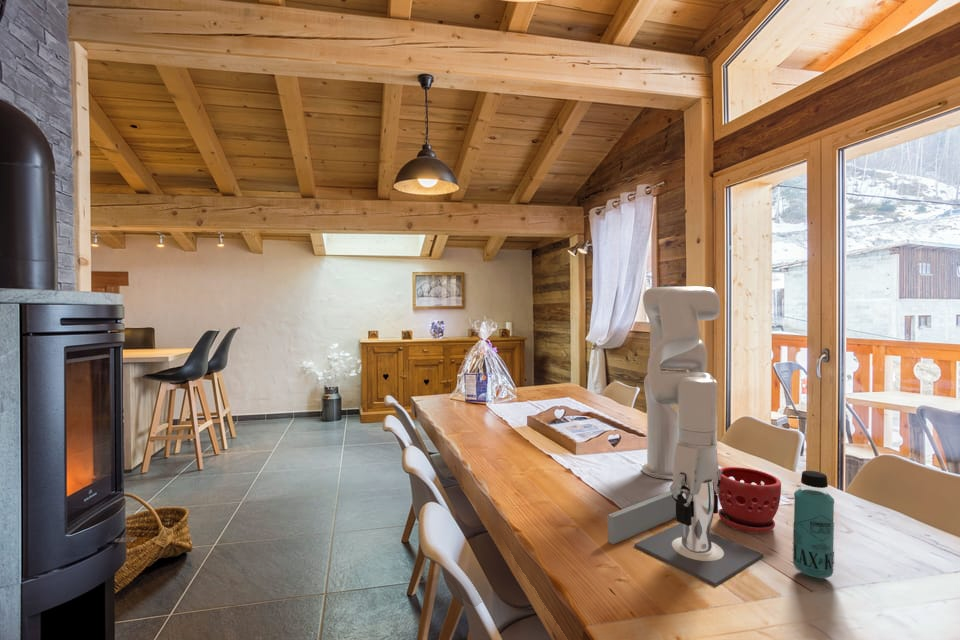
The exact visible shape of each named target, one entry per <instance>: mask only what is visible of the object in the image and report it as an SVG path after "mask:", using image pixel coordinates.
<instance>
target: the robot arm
mask: <svg viewBox="0 0 960 640" xmlns="http://www.w3.org/2000/svg"><path fill="white" fill-rule="evenodd" d="M642 305H643V309H644V311H645V314H646V316H647V318H648V321H649V326H650V328H649V330H650V331H649V357H648V359H647V368H646V370H647V374H646V376H645V377H644V379H643V388H644V396H645V402H646V423H647V424H646V429H647V430H646V433H647V434H646V438H647V439H646V441H647V443H646V446H647V447H646V452H647V453H646V454H647V455H646V457H647V463H644V464H643V465H642V467H641V468H642V469H641V470H642V472H643V473H644V474H645V475H647V476H650V477H653V478H657V479H661V480H672V483H671V484H670V486H669V490H670V491H671V493H672V498H673V499H674V502H675V503H676V517H675V520H676V522H677V523H682V524H685V525H687V526H690V525H691V524H692V506H689V505H690V502H691V500H692V497H693V495H697V494H699V491H700V488H701V483H707V482H711V481H712V479H713V480H714V493H715V507H714V514H715V515H716V514H719V498H718V494H719V489H718V488H719V485H720V484H721V481H720V479H721V475H722V470H720V469H721V468H719V457H718V455H719V454H718V392H719V390H718V383H717V380H715V378H714V376H712V374H710V373H707V369H708V368H707V367H708V366H707V364H708V351H707V347H706V344H705V343H704V341H703V340H701V331H700V327H699V326H700V325H699V323H698V321H714V320H716V319H717V318H718V317H719V315H720V313H721V299H720V296H719V294H718V293H717V290H715V289H714V288H712V287H710V286H709V287H708V286H704V285H703V286H700V285H699V286H698V285H697V286H696V285H693V286H692V285H691V286H657V287H650V288H648V289H646V290H645V291H644V292H643V295H642ZM662 370H663V371H662ZM669 370H671V371H669ZM672 370H673V371H672ZM674 370H675V371H674ZM677 370H680V371H677ZM681 370H683V371H681ZM684 370H685V371H684ZM672 405H673V406H677V410H676V409H675V408H674V407H673V406H672ZM686 483H687V486H688V489H690V491H689V490H686V489H684V486H685V484H686ZM683 493H684V494H687V496H686V499H685V498H684V497H683V496H682V494H683Z"/></svg>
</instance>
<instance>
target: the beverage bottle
mask: <svg viewBox="0 0 960 640" xmlns="http://www.w3.org/2000/svg"><path fill="white" fill-rule="evenodd" d="M800 482H801V484H802V485H805V486H803V487H800V488H798V489H797V490H795V491H794V493H793V494H794V502H793V503H794V509H793V524H792V527H793V532H792V539H793V540H792V544H793V546H792V562H793V565H794V568H795V569H796V570H797V571H798V572H801V573H802V574H805V575H807V576H810V577H814V578H817V579H827V578H830V577H832V576H833V573H834V570H835V569H834V568H835V561H834V557H835V551H834V540H835V537H834V536H835V535H834V533H835V531H834V530H835V523H834V520H835V519H834V515H835V513H834V512H835V511H834V508H835V506H834V505H835V499H834V497H833V496H832V495H831V494H829V493H828V492H827V491H825V490H824V489H825V488H828V485H829V484H828V477H827V474H825V473H823V472H821V471H815V470H803V471H802V472H801V479H800Z"/></svg>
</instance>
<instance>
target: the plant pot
mask: <svg viewBox="0 0 960 640" xmlns="http://www.w3.org/2000/svg"><path fill="white" fill-rule="evenodd" d="M719 469H720V470H722V475H721V479H720V481H721V484H720V485H719V488H718V489H719V494H717V495H718V503H719V505H720V507H721V508H720V509H718V517H719V519H720V520H721V521H722V522H723V523H724V524H726V525H727V526H728V527H729V528H731V529H732V528H733V529H734V530H738V531H741V532H745V533H750V534H765V533H769V532H771V531H772V530H774V528H775V527H776V522H775V520H774V518H775V516H776V514H777V512H778V510H779V505H780V502H781V496H782V495H781V494H782V483H781V480H780V479H779V478H778V477H776V476H774V475H772V474H770V473H767V472H764V471H762V470H757V469H752V468H747V467H739V466H728V467H727V466H725V467H721V468H719ZM731 477H732V478H733V479H732V478H731ZM742 481H743V482H742ZM762 482H763V484H762ZM753 483H754V484H753Z"/></svg>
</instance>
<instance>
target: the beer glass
mask: <svg viewBox="0 0 960 640" xmlns="http://www.w3.org/2000/svg"><path fill="white" fill-rule="evenodd" d="M684 489H686V490H689V491H690V489H688V486H687V483H686V484H685V486H684ZM682 496H683V497H684V498H685V499H686V496H687V494H684V493H683V494H682ZM689 506H692V524H691V525H690V526H687V525H685V524H683V534H682V540H681V547H682V548H683V549H684V550H685V551H687V552H689V553H692V554H696V555H708V554H710V553H712V544H711V538H710V533H711V530H712V523H713V519H714V514H715V513H714V507H715V493H714V480H713V479H712V481H711V482H707V483H701V488H700V491H699V494H697V495H693V497H692V500H691V502H690V505H689Z"/></svg>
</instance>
